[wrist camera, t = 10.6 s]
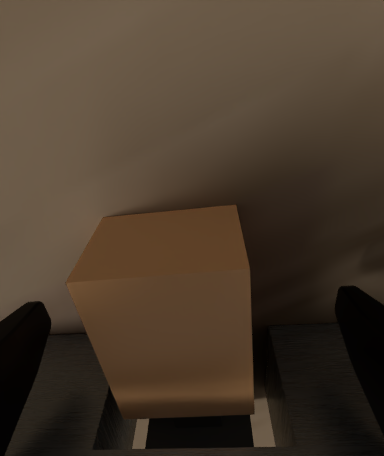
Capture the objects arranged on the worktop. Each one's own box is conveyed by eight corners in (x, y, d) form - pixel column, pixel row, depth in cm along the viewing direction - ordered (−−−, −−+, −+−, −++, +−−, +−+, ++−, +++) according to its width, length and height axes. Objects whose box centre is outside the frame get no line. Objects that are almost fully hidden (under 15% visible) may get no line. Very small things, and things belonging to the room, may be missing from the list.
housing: (389, 385, 13) (475, 541, 9) (29, 396, 14) (-41, 539, 10) (415, 319, 11) (542, 482, 7) (-7, 337, 12) (-113, 487, 8)
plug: (246, 401, 14) (256, 481, 11) (159, 404, 14) (150, 483, 12) (235, 204, 9) (249, 268, 6) (102, 217, 9) (65, 282, 7)
